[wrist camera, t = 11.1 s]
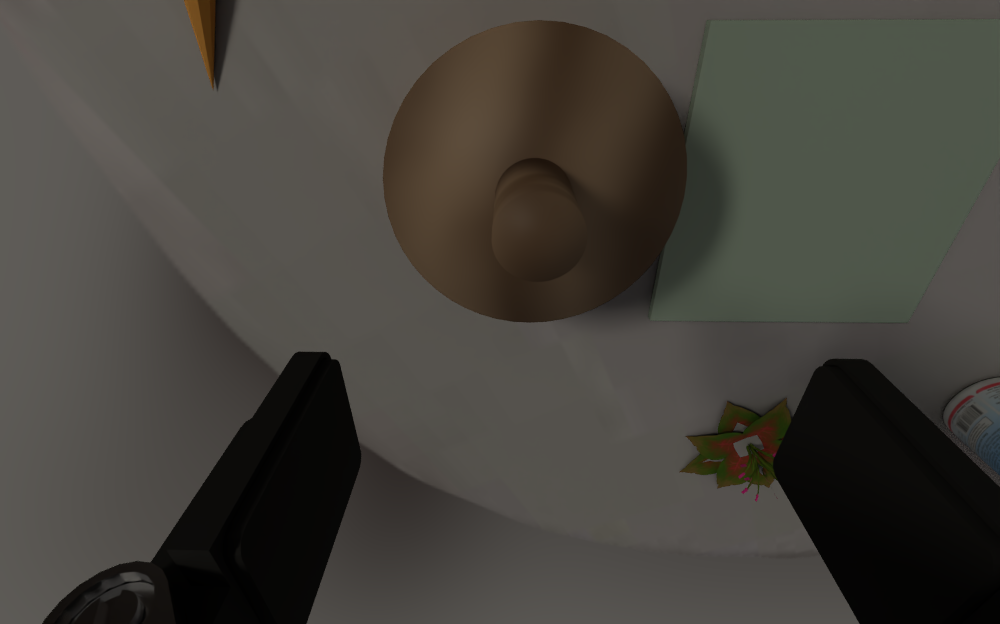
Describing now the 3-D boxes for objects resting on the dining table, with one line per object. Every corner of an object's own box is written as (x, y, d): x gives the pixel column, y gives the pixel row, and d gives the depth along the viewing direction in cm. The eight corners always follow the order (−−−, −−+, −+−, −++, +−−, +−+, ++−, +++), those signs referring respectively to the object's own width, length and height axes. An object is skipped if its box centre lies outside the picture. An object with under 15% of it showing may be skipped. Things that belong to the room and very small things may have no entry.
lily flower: (850, 405, 38) (888, 448, 34) (772, 494, 44) (797, 540, 40) (715, 377, 37) (739, 419, 33) (654, 474, 43) (669, 518, 39)
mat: (1064, 19, 23) (1077, 18, 23) (901, 318, 33) (907, 322, 32) (706, 20, 24) (711, 20, 23) (648, 316, 33) (650, 320, 33)
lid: (711, 19, 19) (788, 17, 14) (653, 313, 26) (688, 383, 21) (366, 22, 19) (313, 21, 14) (405, 312, 26) (380, 381, 21)
